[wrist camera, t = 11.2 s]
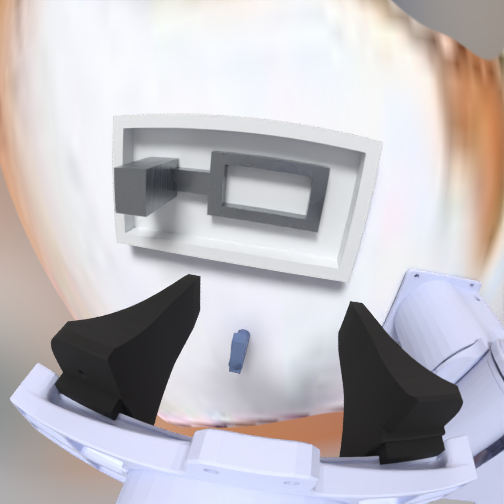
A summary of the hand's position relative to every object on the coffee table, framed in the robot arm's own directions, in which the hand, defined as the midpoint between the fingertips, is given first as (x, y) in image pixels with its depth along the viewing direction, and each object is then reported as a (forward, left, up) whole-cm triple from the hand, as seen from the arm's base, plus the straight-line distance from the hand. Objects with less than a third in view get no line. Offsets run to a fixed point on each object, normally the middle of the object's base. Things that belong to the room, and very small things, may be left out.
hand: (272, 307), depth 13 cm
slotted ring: (+4, -3, -9) cm, 10 cm away
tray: (+4, -3, -9) cm, 11 cm away
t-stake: (+2, +11, -9) cm, 15 cm away
